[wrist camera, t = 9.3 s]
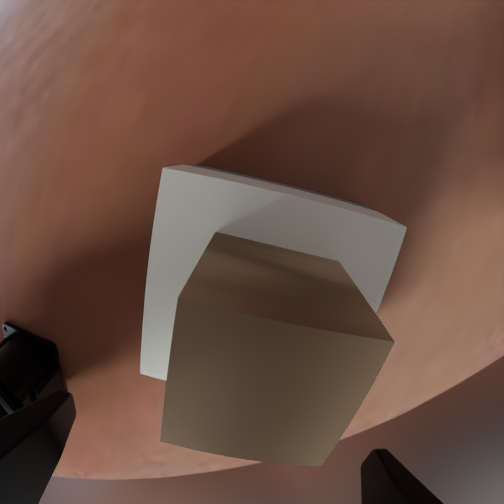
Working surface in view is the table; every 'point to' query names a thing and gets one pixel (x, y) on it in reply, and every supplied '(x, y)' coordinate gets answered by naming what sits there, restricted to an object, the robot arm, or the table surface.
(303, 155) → the table surface
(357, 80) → the table surface
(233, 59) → the table surface
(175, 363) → the brown faceted block
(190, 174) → the tower top block
